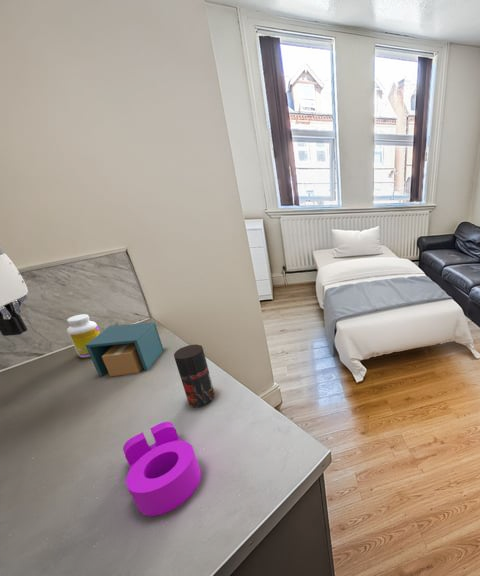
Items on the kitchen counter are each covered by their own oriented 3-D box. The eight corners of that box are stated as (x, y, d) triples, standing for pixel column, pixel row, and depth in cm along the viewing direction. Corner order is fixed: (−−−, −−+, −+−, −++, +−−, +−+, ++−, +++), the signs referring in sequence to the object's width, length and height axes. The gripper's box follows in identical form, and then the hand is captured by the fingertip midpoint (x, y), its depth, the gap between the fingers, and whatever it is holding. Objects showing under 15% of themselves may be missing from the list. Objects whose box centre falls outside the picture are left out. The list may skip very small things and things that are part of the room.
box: (138, 372, 84) (131, 352, 82) (110, 376, 82) (101, 356, 80) (149, 358, 91) (142, 339, 88) (123, 362, 89) (115, 342, 86)
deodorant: (218, 398, 75) (206, 351, 70) (192, 411, 71) (177, 362, 66) (210, 387, 79) (198, 341, 73) (185, 399, 75) (170, 351, 69)
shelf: (147, 370, 85) (136, 340, 81) (99, 376, 83) (85, 345, 79) (163, 349, 95) (154, 321, 91) (120, 354, 92) (109, 325, 88)
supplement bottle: (110, 350, 94) (95, 316, 89) (82, 361, 89) (65, 325, 84) (102, 344, 97) (88, 310, 92) (75, 353, 92) (59, 318, 87)
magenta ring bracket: (208, 485, 55) (201, 462, 52) (144, 529, 48) (132, 506, 46) (182, 436, 65) (174, 416, 62) (125, 468, 58) (114, 446, 55)
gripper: (-15, 243, 61) (24, 319, 68) (-105, 264, 48) (-45, 355, 55) (28, 242, 63) (62, 315, 70) (-46, 262, 50) (5, 350, 57)
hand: (15, 333), depth 63 cm, fingers closed
